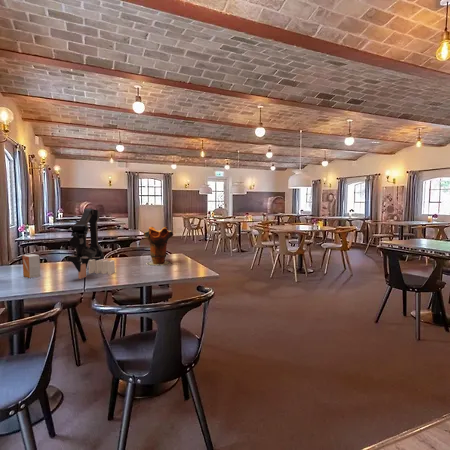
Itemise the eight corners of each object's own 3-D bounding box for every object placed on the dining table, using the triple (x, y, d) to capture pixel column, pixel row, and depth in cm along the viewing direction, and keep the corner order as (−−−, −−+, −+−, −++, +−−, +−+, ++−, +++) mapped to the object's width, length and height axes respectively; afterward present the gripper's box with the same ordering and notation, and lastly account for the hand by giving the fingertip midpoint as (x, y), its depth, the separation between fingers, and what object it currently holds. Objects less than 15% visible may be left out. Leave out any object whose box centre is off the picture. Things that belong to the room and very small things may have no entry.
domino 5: (112, 272, 203) (112, 260, 203) (114, 272, 203) (114, 260, 203) (108, 274, 199) (107, 261, 198) (110, 274, 198) (110, 261, 198)
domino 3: (99, 271, 205) (99, 259, 204) (102, 272, 205) (101, 259, 204) (95, 273, 200) (94, 261, 200) (97, 273, 200) (97, 261, 199)
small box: (23, 276, 193) (22, 255, 192) (34, 274, 198) (33, 253, 197) (29, 278, 188) (28, 256, 187) (40, 276, 194) (39, 255, 193)
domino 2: (93, 271, 206) (93, 259, 205) (95, 271, 206) (95, 259, 205) (88, 273, 201) (88, 260, 200) (91, 273, 201) (90, 261, 200)
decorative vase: (170, 258, 248) (169, 223, 245) (175, 266, 227) (174, 227, 223) (142, 260, 242) (141, 224, 238) (145, 268, 220) (144, 228, 216)
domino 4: (106, 272, 204) (105, 259, 204) (108, 272, 204) (108, 260, 203) (101, 274, 199) (101, 261, 199) (104, 274, 199) (103, 261, 198)
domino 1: (83, 276, 193) (83, 263, 192) (86, 276, 193) (85, 263, 192) (78, 278, 188) (78, 265, 187) (80, 278, 188) (80, 265, 187)
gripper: (83, 247, 178) (84, 275, 179) (102, 243, 196) (103, 268, 198) (65, 247, 180) (67, 274, 181) (86, 242, 198) (87, 267, 200)
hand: (82, 270), depth 190 cm, fingers closed on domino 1, 5 cm apart
